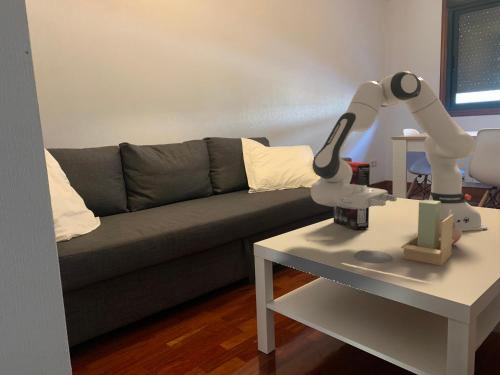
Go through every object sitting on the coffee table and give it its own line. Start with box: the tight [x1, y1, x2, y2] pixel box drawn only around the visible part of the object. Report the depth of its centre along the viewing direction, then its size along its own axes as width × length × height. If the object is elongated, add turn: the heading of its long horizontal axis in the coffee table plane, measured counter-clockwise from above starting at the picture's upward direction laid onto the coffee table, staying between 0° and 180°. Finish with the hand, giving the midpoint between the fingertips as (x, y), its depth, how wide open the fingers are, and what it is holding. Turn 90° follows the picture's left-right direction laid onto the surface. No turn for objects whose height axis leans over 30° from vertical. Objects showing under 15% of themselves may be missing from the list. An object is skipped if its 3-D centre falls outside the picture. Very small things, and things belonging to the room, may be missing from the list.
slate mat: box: [354, 250, 394, 264], centre depth 129 cm, size 12×12×1 cm
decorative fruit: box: [439, 220, 463, 245], centre depth 138 cm, size 9×8×10 cm
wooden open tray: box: [400, 214, 454, 266], centre depth 126 cm, size 11×17×14 cm, turn 139°
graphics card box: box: [333, 160, 371, 231], centre depth 168 cm, size 17×7×27 cm, turn 23°
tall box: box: [417, 199, 441, 250], centre depth 126 cm, size 5×5×18 cm
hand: (390, 201), depth 132 cm, fingers open, 8 cm apart
